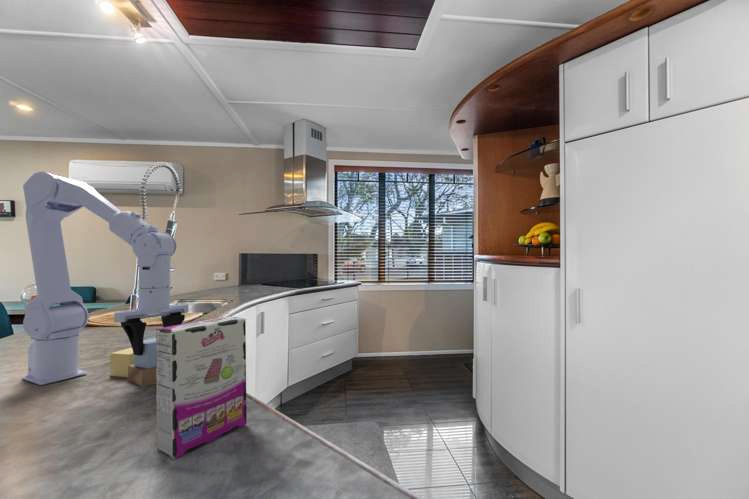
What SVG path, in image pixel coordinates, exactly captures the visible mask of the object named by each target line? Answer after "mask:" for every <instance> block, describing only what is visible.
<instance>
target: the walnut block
mask: <svg viewBox="0 0 749 499" xmlns="http://www.w3.org/2000/svg"><path fill="white" fill-rule="evenodd" d="M127 382H130V383H133V384H134V385H137V386H139V387H142V388H144V387H149V386H152V385H157V380H156V367H153V368H149V369H147V368H142V367H137V366H134V364H132V365H128V377H127Z"/></svg>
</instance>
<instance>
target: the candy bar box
mask: <svg viewBox="0 0 749 499" xmlns="http://www.w3.org/2000/svg"><path fill="white" fill-rule="evenodd" d="M246 329H247V328H246V318H244V317H237V316H231V315H230V316H229V315H228V316H223V317H222V316H221V317H216V318H211V319H205V320H200V321H193V322H187V323H182V324H181V325H175V326H169V327H164V328H163V327H159V328H156V329H155V332H156V333H155V338H156V380H157V383H156V388H155V389H156V397H155V399H156V400H155V401H156V449H157V451H159V452H160V453H162V454H164V455H166V456H168V457H169V458H172V459H173V460H176V459H179V458H180V457H183V456H185V455H187V454H189V453H192V452H194V451H195V450H197V449H199V448H202V447H204V446H206V445H207V444H209V443H212V442H213V441H216V440H218V439H220V438H222V437H223V436H226V435H228V434H230V433H231V432H234V431H235V430H238V429H240V428H242V427H244V426H246V425H247V344H246V342H247V341H246V340H247V337H246V335H247V334H246V333H247V332H246V331H247V330H246ZM243 425H244V426H243ZM241 426H242V427H241ZM239 427H240V428H239ZM237 428H238V429H237Z"/></svg>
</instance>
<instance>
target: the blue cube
mask: <svg viewBox="0 0 749 499" xmlns="http://www.w3.org/2000/svg"><path fill="white" fill-rule="evenodd" d="M134 366H137V367H142V368H147V369H149V368H153V367H156V337H153V338H148V339H143V354H142V355H134Z"/></svg>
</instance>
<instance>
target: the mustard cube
mask: <svg viewBox="0 0 749 499" xmlns="http://www.w3.org/2000/svg"><path fill="white" fill-rule="evenodd" d="M132 364H134V354H133V350H132V347H129V348H125V349H121V350H117V351H114V352H111V353H110V370H109V372H110V374H109V376H112V377H122V378H128V365H132Z"/></svg>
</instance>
